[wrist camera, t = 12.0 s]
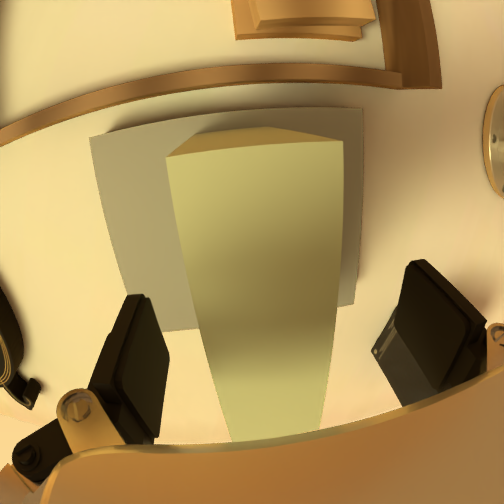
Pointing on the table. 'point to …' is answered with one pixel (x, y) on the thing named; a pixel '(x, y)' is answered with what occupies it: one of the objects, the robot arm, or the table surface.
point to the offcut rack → (277, 71)
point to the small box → (401, 367)
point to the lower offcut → (286, 28)
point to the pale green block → (263, 269)
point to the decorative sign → (14, 358)
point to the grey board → (161, 206)
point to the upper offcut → (310, 13)
